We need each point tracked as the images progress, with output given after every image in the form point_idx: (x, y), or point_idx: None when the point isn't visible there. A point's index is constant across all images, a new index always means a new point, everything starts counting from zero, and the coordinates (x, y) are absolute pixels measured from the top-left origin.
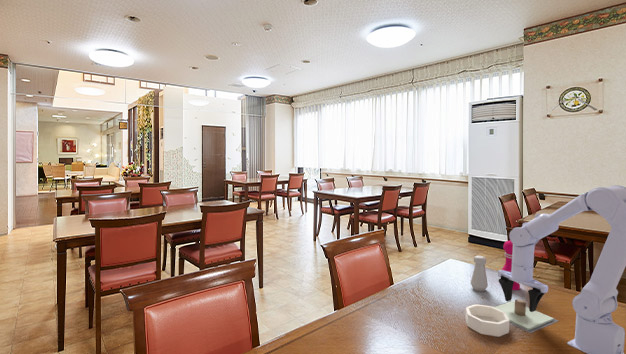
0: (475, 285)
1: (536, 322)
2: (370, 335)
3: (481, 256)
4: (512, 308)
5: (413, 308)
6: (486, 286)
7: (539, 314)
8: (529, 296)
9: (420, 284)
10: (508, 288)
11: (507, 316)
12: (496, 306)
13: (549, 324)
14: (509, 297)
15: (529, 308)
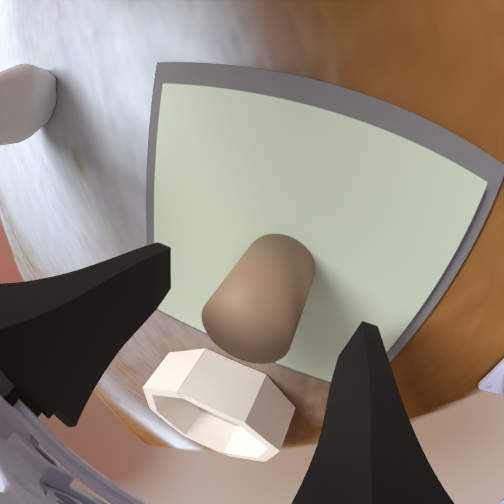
0: (20, 141)
1: (387, 324)
2: (154, 432)
3: None
4: (216, 217)
5: None
6: (33, 95)
7: (399, 184)
8: (302, 488)
9: (13, 229)
10: (94, 351)
11: (263, 437)
12: None
13: (456, 269)
14: (152, 284)
15: (333, 379)
